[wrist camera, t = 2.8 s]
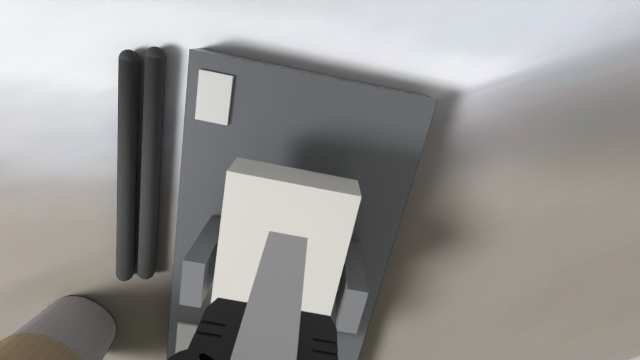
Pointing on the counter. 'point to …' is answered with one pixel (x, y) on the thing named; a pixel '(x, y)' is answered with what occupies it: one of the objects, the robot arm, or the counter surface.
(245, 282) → the plate
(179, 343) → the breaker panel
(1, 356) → the coffee cup
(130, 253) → the cords
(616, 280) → the counter surface
